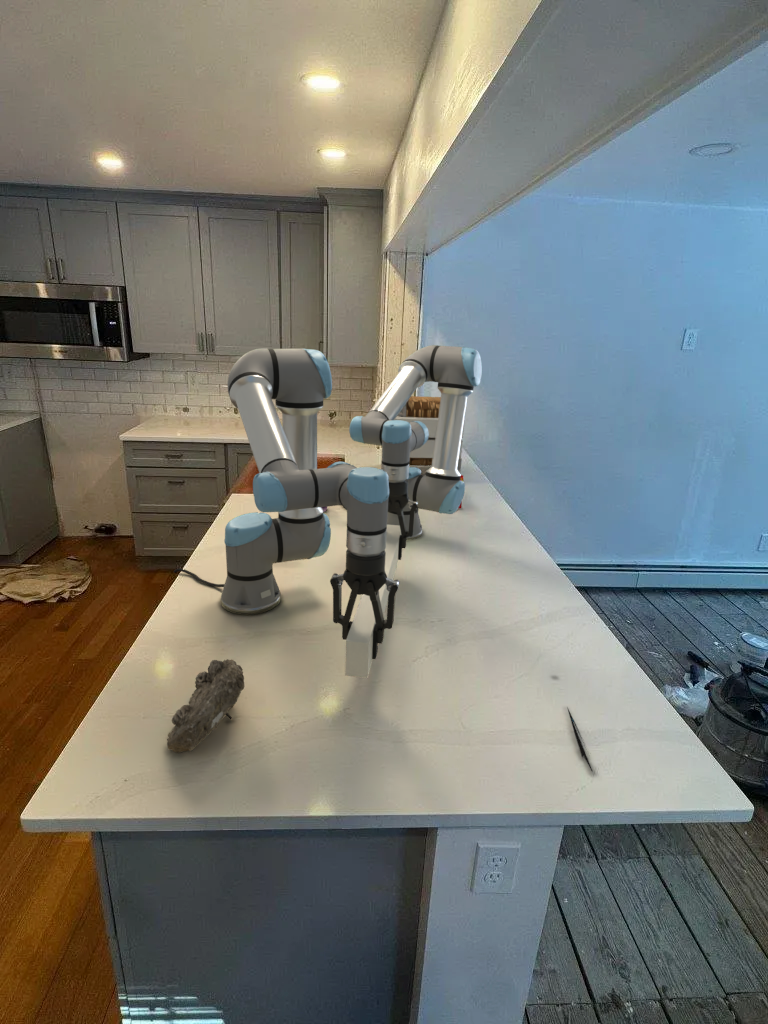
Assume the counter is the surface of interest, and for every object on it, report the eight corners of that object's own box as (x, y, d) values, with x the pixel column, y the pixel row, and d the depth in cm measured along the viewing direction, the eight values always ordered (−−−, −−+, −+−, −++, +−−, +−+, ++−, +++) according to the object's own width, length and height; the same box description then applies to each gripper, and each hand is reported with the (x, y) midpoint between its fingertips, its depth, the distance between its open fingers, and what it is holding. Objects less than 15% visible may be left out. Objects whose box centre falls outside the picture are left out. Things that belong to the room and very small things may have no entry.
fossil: (192, 660, 117) (244, 628, 112) (224, 691, 120) (276, 661, 115) (142, 746, 98) (202, 712, 93) (182, 779, 101) (242, 748, 96)
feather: (555, 681, 125) (561, 675, 124) (592, 776, 98) (600, 769, 98) (549, 677, 125) (554, 671, 124) (584, 771, 98) (592, 764, 98)
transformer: (382, 463, 289) (386, 382, 275) (445, 464, 293) (451, 384, 279) (390, 482, 257) (394, 392, 243) (460, 483, 261) (468, 394, 247)
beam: (385, 548, 168) (387, 524, 166) (400, 550, 168) (402, 525, 165) (344, 675, 110) (345, 640, 107) (367, 678, 109) (368, 643, 106)
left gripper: (316, 553, 105) (315, 659, 113) (410, 562, 103) (403, 669, 111) (325, 537, 112) (324, 639, 120) (413, 545, 110) (406, 648, 118)
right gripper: (360, 480, 151) (358, 559, 159) (426, 485, 149) (420, 565, 157) (364, 472, 158) (362, 549, 166) (427, 477, 156) (422, 554, 164)
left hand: (362, 653), depth 116 cm, fingers closed on beam, 4 cm apart
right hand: (390, 556), depth 161 cm, fingers closed on beam, 4 cm apart
